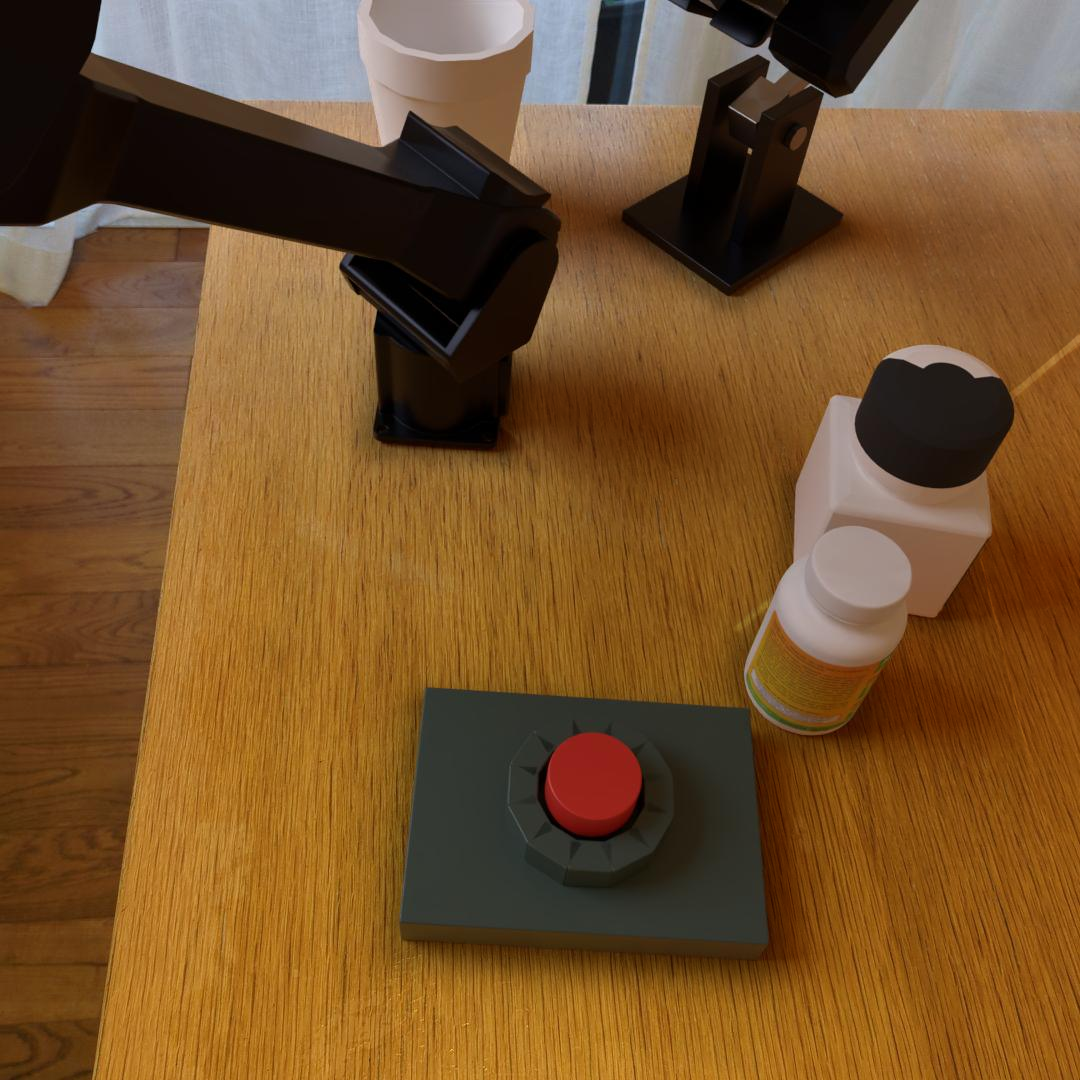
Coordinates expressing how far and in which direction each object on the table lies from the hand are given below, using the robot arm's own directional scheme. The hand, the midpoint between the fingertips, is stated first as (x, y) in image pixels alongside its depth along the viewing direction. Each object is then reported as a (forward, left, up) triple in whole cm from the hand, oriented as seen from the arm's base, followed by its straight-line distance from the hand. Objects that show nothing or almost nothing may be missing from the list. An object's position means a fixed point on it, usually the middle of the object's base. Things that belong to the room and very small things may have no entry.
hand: (776, 25), depth 60 cm
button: (-9, -40, -10) cm, 42 cm away
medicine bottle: (+5, -25, -14) cm, 29 cm away
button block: (-9, -40, -13) cm, 43 cm away
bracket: (0, 0, -13) cm, 14 cm away
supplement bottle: (+1, -33, -14) cm, 35 cm away
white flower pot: (-18, -1, -14) cm, 22 cm away
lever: (+4, +4, -5) cm, 8 cm away
